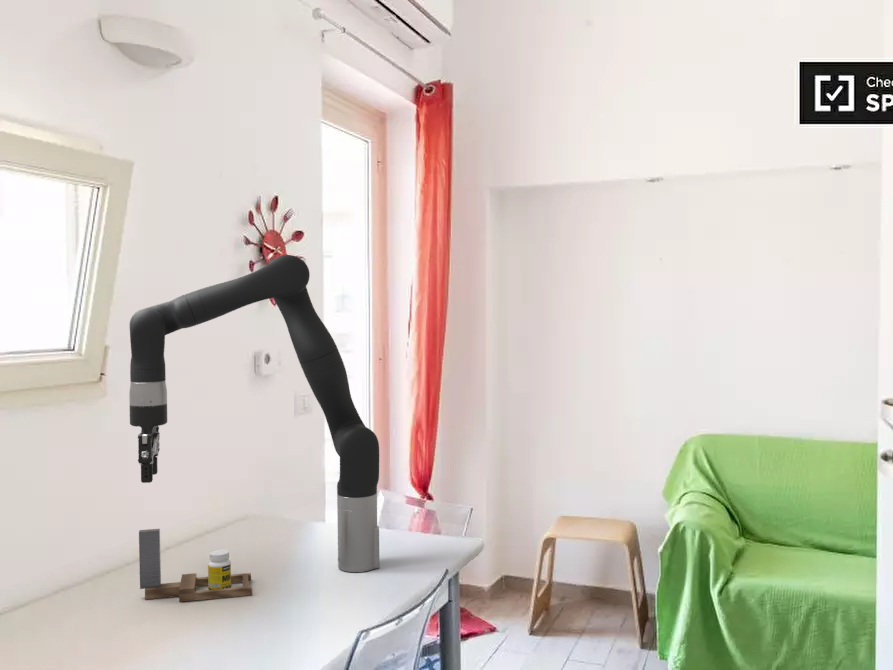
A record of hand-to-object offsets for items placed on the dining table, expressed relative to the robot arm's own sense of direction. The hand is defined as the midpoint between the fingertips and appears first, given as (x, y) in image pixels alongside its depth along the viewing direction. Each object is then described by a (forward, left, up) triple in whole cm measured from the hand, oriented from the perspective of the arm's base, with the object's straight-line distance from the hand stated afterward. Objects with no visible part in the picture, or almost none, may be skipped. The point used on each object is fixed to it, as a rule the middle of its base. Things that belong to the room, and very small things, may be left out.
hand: (149, 478), depth 173 cm
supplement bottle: (-14, +3, -25) cm, 29 cm away
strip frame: (-9, +3, -24) cm, 26 cm away
